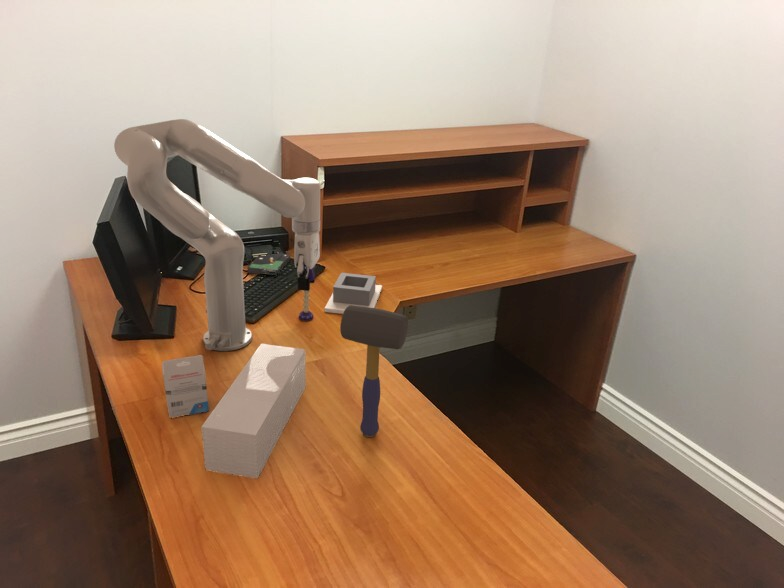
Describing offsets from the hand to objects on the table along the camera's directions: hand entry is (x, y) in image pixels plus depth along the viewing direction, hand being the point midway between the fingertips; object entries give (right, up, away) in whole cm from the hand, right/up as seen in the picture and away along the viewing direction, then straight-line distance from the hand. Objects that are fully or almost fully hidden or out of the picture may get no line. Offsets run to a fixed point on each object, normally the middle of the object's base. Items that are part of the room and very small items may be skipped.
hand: (306, 285), depth 175 cm
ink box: (-21, -28, -37) cm, 51 cm away
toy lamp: (-1, -10, +5) cm, 11 cm away
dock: (+13, -4, +17) cm, 21 cm away
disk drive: (-18, +6, +37) cm, 41 cm away
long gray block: (-4, -31, -40) cm, 51 cm away
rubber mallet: (+19, -33, -41) cm, 56 cm away
